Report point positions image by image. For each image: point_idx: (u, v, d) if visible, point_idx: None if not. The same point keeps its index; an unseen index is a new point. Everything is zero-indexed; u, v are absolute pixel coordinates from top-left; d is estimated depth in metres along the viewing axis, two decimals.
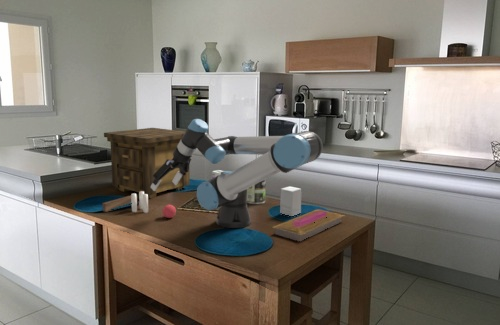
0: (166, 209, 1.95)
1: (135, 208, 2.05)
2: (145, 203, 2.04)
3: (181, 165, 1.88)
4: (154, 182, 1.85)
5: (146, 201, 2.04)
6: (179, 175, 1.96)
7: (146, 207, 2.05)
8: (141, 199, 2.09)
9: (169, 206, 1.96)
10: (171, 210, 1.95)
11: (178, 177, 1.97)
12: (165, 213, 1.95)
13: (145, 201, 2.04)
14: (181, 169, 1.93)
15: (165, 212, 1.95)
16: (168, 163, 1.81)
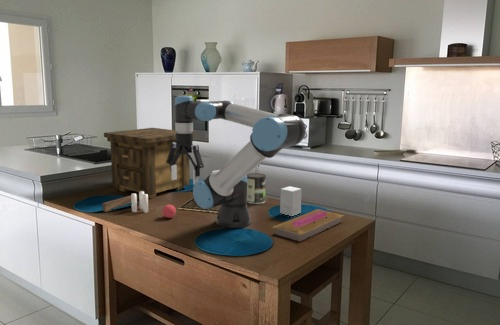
0: (166, 209, 1.95)
1: (135, 208, 2.05)
2: (145, 203, 2.04)
3: (184, 150, 1.85)
4: None
5: (146, 201, 2.04)
6: None
7: (146, 207, 2.05)
8: (141, 199, 2.09)
9: (169, 206, 1.96)
10: (171, 210, 1.95)
11: None
12: (165, 213, 1.95)
13: (145, 201, 2.04)
14: (191, 160, 1.85)
15: (165, 212, 1.95)
16: None
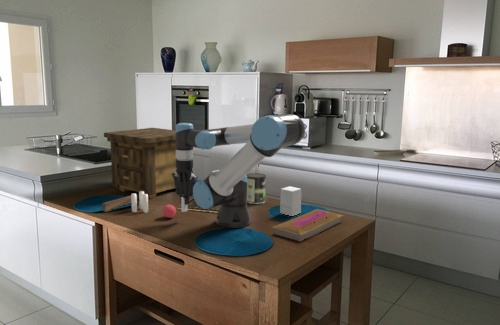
0: (166, 209, 1.95)
1: (135, 208, 2.05)
2: (145, 203, 2.04)
3: (183, 175, 1.88)
4: None
5: (146, 201, 2.04)
6: None
7: (146, 207, 2.05)
8: (141, 199, 2.09)
9: (169, 206, 1.96)
10: (171, 210, 1.95)
11: None
12: (165, 213, 1.95)
13: (145, 201, 2.04)
14: None
15: (165, 212, 1.95)
16: None
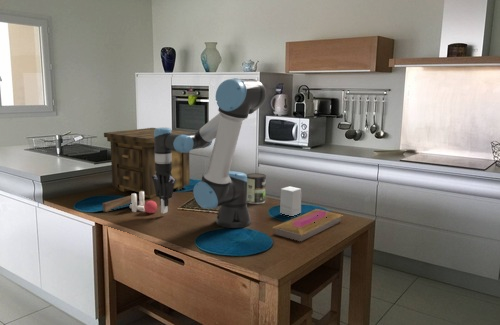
0: (147, 211, 2.02)
1: (135, 208, 2.05)
2: None
3: (162, 178, 1.95)
4: None
5: None
6: None
7: (140, 206, 2.07)
8: (141, 199, 2.09)
9: None
10: None
11: None
12: (145, 208, 2.02)
13: None
14: None
15: (145, 209, 2.02)
16: None
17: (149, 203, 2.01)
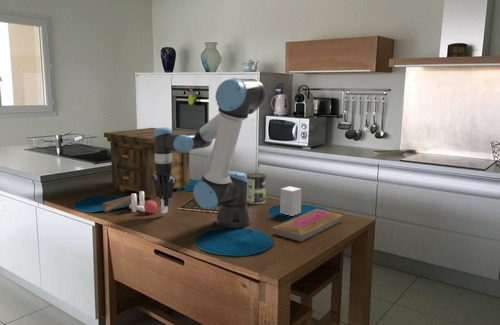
0: (147, 211, 2.02)
1: (135, 208, 2.05)
2: None
3: (162, 178, 1.95)
4: None
5: None
6: None
7: (139, 206, 2.07)
8: (141, 199, 2.09)
9: None
10: None
11: None
12: (145, 208, 2.02)
13: None
14: None
15: (145, 209, 2.02)
16: None
17: (149, 203, 2.01)
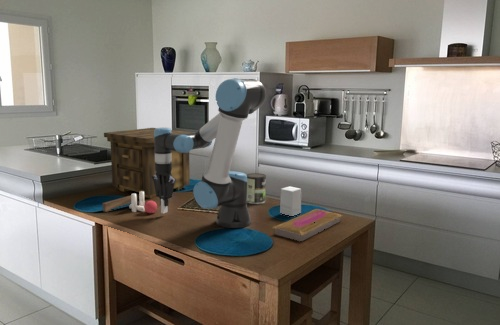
0: (147, 211, 2.02)
1: (135, 208, 2.05)
2: None
3: (162, 178, 1.95)
4: None
5: None
6: None
7: (139, 206, 2.07)
8: (141, 199, 2.09)
9: None
10: None
11: None
12: (145, 208, 2.02)
13: None
14: None
15: (145, 209, 2.02)
16: None
17: (149, 203, 2.01)
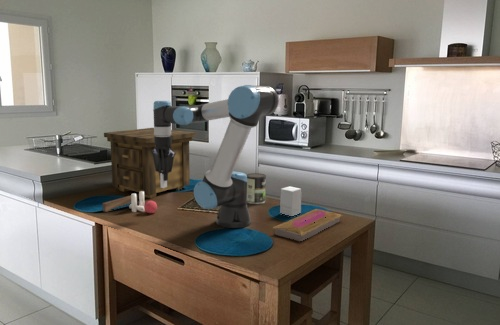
0: (147, 211, 2.02)
1: (135, 208, 2.05)
2: None
3: None
4: None
5: None
6: None
7: (139, 206, 2.07)
8: (141, 199, 2.09)
9: None
10: None
11: None
12: (145, 208, 2.02)
13: None
14: (163, 163, 1.94)
15: (145, 209, 2.02)
16: None
17: (149, 203, 2.01)
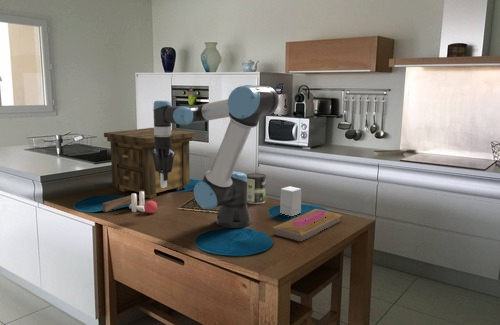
0: (147, 211, 2.02)
1: (135, 208, 2.05)
2: None
3: None
4: None
5: None
6: None
7: (139, 206, 2.07)
8: (141, 199, 2.09)
9: None
10: None
11: None
12: (145, 208, 2.02)
13: None
14: (163, 163, 1.94)
15: (145, 209, 2.02)
16: None
17: (149, 203, 2.01)
